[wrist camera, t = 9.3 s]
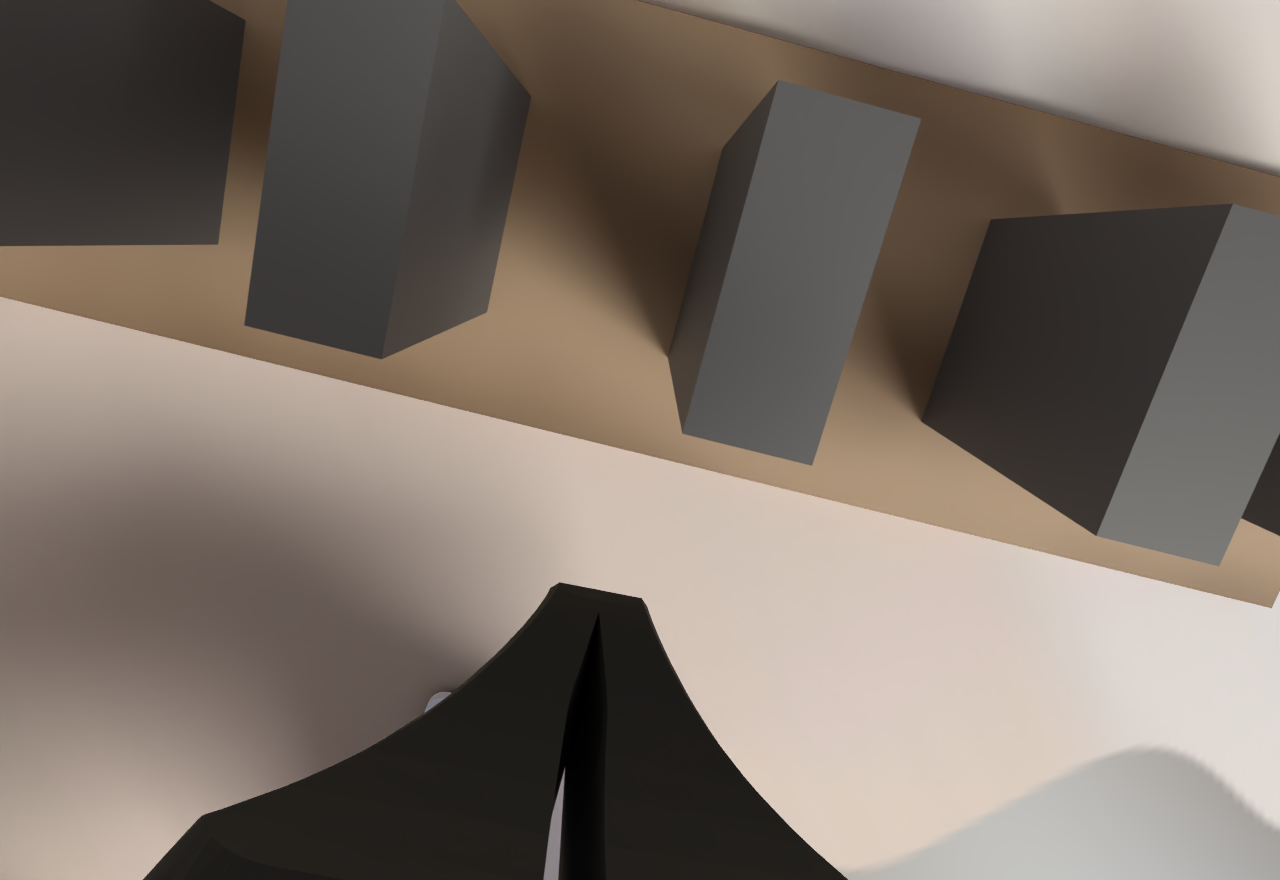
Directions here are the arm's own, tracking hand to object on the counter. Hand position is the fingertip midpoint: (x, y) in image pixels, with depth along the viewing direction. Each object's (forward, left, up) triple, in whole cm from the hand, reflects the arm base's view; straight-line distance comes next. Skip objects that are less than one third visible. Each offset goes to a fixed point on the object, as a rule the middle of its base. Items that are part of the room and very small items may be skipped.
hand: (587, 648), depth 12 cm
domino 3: (+6, -2, -9) cm, 11 cm away
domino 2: (+6, +5, -9) cm, 12 cm away
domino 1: (+6, +11, -9) cm, 16 cm away
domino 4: (+6, -8, -9) cm, 13 cm away
